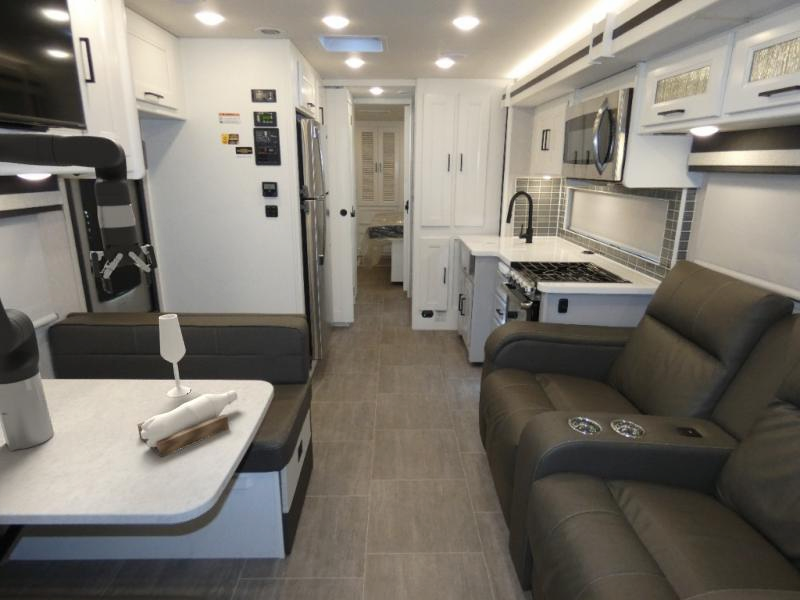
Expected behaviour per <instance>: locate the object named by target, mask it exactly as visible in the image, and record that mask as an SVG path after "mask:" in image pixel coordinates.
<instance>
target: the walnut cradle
mask: <svg viewBox="0 0 800 600" xmlns="http://www.w3.org/2000/svg"><path fill="white" fill-rule="evenodd" d="M228 419H229V418H228V415H226V413H224V414H220V415H219V416H218V417H216V418H213V419H211V420H208V421H206V422H204V423H201V424H199V425H196V426H194V427H191V428H189V429H186V430H184V431H181V432H179V433H176V434H174V435H171V436H169V437H167V438H164V439H162V440H159V441H157V442H156V443H157V447H150V449H152V450H153V451H154V452H155V453H156V454H157V455H158V456H159V457H160V458H163V457H165V456H168V455H170V454H172V452H173V453H175V452H177V451H179V450H181V449H180V448H182V449H184V448H186V447H188V446H187V445H189V446H191V445H193V444H195V443H194V442H196V443H198V442H200V441H202V440H201V439H203V440H205V439H206V437H207V438H209V437H208V436H210V437H212V436H214V435H216V434H219V433H221V432H223V431H225V430H228V429H230V427H229V420H228ZM145 422H146V421H143V422H141V423H137V429H138V430H137V431H138V435H139V438H140V439H141V440H142V441H143V442H144V443H147V441H148V440H149V439H143V438H142V437H141V431H142V430H143V429H141V426H142V425H143V423H145ZM213 434H214V435H213ZM211 435H212V436H211ZM204 438H205V439H204ZM199 440H200V441H199ZM197 441H198V442H197ZM192 443H193V444H192ZM190 444H191V445H190ZM185 446H186V447H185ZM183 447H184V448H183ZM178 449H179V450H178ZM174 451H175V452H174Z"/></svg>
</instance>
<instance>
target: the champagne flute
mask: <svg viewBox="0 0 800 600" xmlns="http://www.w3.org/2000/svg"><path fill="white" fill-rule="evenodd" d="M158 326H159V347H160V348H159V350H160V356H161V357H162V358H163V360H166V361H167V362H169V363H172V367H173V374H174V381H175V387H174V388H172V389H170V390H169V391H168V392H167V394H166V395H167V396H168V397H170V398H180V397H183V396H186V395H188V394H190V393H191V392H190V389H191V388H190V387H188V386H183V385H181V381H180V374H179V372H180V371H179V368H178V367H179V366H178V362H179V361H181V360H182V358H183V357H184V356H185V354H186V350H187V349H186V347H185V342H184V338H183V335H182V330H181V327H180V323H179V318H178V315H177V314H175V313H168V314H163V315H160V316H159V317H158ZM189 392H190V393H189ZM187 393H188V394H187Z"/></svg>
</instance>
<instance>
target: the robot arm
mask: <svg viewBox="0 0 800 600" xmlns="http://www.w3.org/2000/svg"><path fill="white" fill-rule="evenodd" d="M0 163H6V164H7V163H10V164H17V165H19V164H20V165H28V166H42V167H43V166H44V167H64V168H66V167H82V168H83V167H84V168H92V169H93V168H94V173H95V179H96V180H95V182H94V188H93V189H94V195H95V201H96V207H97V208H96V209H97V220H98V226H99V230H100V236H101V240H102V246H103V249H102V251H92V250H90V251H89V252H88V256H89V257H88V258H89V267H90V274H91V276H92V277H94V278H100V279H101V282H102V287H103V290H104V292H107V293H108V294H113V291H114V290H113V284H112V280H111V278H110V276H111V274H112V273H113V272H114V271H115V269H116V268H117V267H118V268H122V267H125V266H134V265H135V266H137V267H138V268H140V270H142V271H141V276H142V277H141V278H142V282H143V283H142V284H143V286H144V287H147V288H149V287H150V285H151V284H152V282H153V281H152V275H151V271H152V270H154V269H157V268H158V263H157V262H158V261H157V258H156V253H155V249H154V246H153V245H150V244H145V245H144V246H140V244H139V243H140V242H139V237H138V232H137V225H136V224H137V223H136V222H137V220H136V218H135V214H134V210H133V207H132V201H131V196H130V194H131V193H130V190H129V185H128V167H127V164H128V163H127V158H126V152H125V150H124V147H123V146H122V144H121V143H120V142H118V140H115V139H113V138H111V137H109V136H108V137H107V136H102V135H67V134H62V133H60V134H59V133H47V132H29V131H27V132H23V131H22V132H20V131H19V132H0ZM142 252H143V254H145V255H146V260H147V263H148V264H146V263H145V262H144V260H142V259H141V258H140V255H141V254H142ZM102 257H104V258H105V259H107V261H106V262H105V264H104V266H103V269H102V270H101V271H100V269H101V268H100V263H99V261H101V260H102ZM39 362H40V349H39V344H38V337H37V334H36V329H35V326H34V323H33V321H32V320H31V318H30V317H29V315H28V314H26V313H25V312H24V311H21V310H19V309H15V308H5V307H4V304H3V302H2V299H1V297H0V427H1V429H2V433H3V437H4V440H5V443H6V446H7V448H8V449H9V450H10V452H13V451H16V450H25V449H28V448H29V449H30V448H32V447H36V446H38V445H41V444H43V443H45V442H47V441H49V440H50V439H51V438H52V437H53V436H54V434H55V431H54V427H53V423H52V419H51V415H50V410H49V407H48V402H47V397H46V393H45V390H44V384H43V380H42V376H41V372H40V368H39Z"/></svg>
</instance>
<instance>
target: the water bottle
mask: <svg viewBox="0 0 800 600" xmlns="http://www.w3.org/2000/svg"><path fill="white" fill-rule="evenodd" d="M237 400H238V394H237V392H236V391H235V390H234V389H232V390H231V389H230V390H229V391H224V392H223V393H221V394H218V393H217V394H216V393H205V394H202V395H200V396H199V397H196V398H194V399H192V400H189V401H187V402H183V403H182V404H181V405H179V406H178V407H176V408H174V409H173V410H171V411H168V412H165V413H162V414H161V413H160V414H157V415H154V416H152V417H150V418H149V419H147V420H146V421H144V422H145V423H143V422H142V423H143V425H142V426H141V429H143V430H142V431H141V437H142V438H143V439H149V440H148V441H147V443H146V442H145V443H146V446H147V447H149V448H151V447H157V443H156V442H157V441H159V440H162V439H164V438H167V437H169V436H171V435H174V434H176V433H179V432H181V431H184V430H186V429H189V428H191V427H194V426H196V425H199V424H201V423H204V422H206V421H208V420H211V419H213V418H216V417H218V416H221V413H222V412H223V410H224V409H225V407H226V406H228V405H231V404H233V402H235V401H237ZM143 439H142V440H143Z"/></svg>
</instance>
